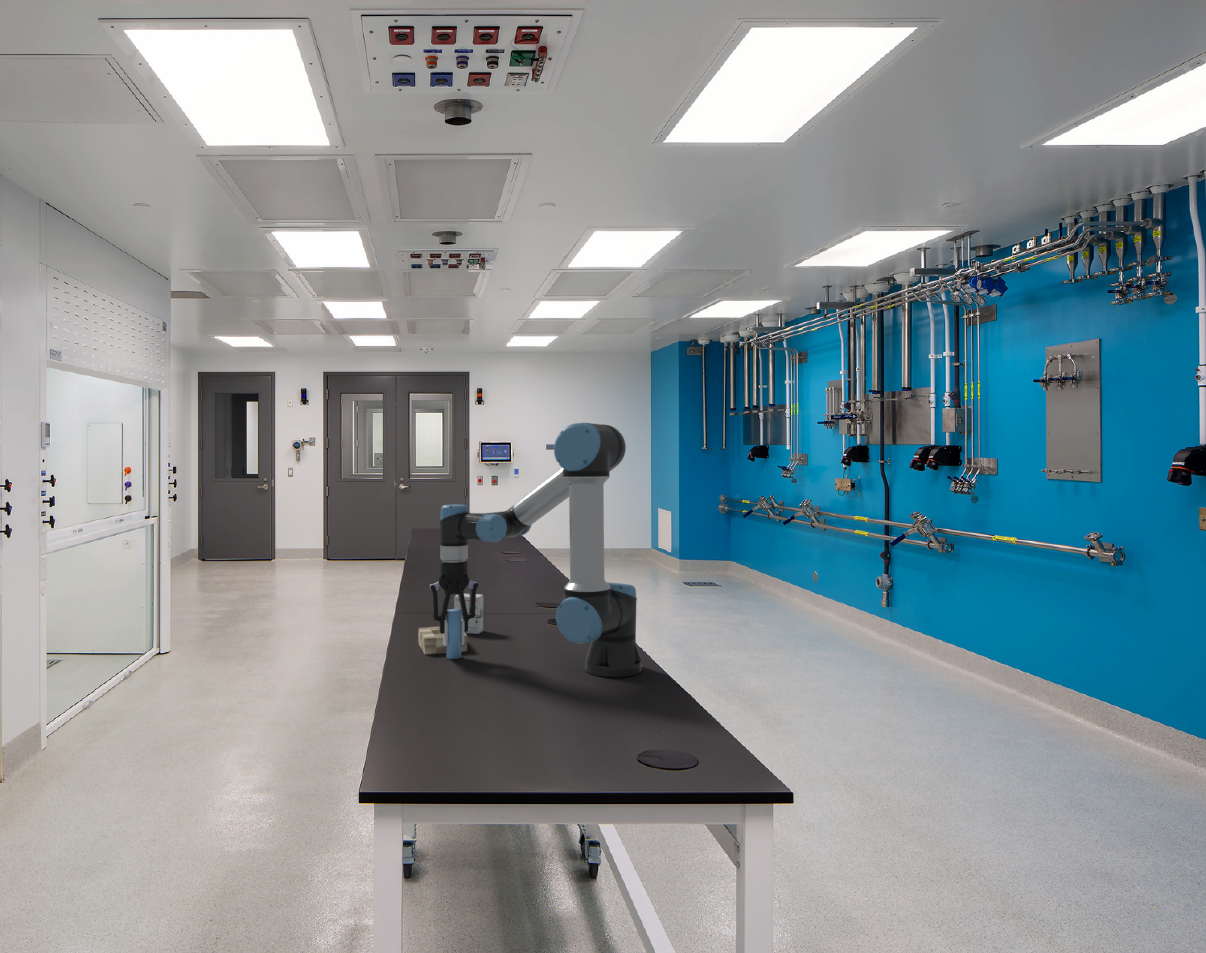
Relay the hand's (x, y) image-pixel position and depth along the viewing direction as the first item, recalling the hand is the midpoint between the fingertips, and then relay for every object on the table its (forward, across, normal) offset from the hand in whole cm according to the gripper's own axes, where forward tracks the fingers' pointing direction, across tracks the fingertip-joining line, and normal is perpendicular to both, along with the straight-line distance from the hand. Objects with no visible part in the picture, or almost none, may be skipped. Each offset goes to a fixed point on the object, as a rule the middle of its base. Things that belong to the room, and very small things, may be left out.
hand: (453, 644), depth 215 cm
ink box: (+4, -10, -30) cm, 32 cm away
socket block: (+4, +1, -13) cm, 14 cm away
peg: (+4, 0, 0) cm, 4 cm away
